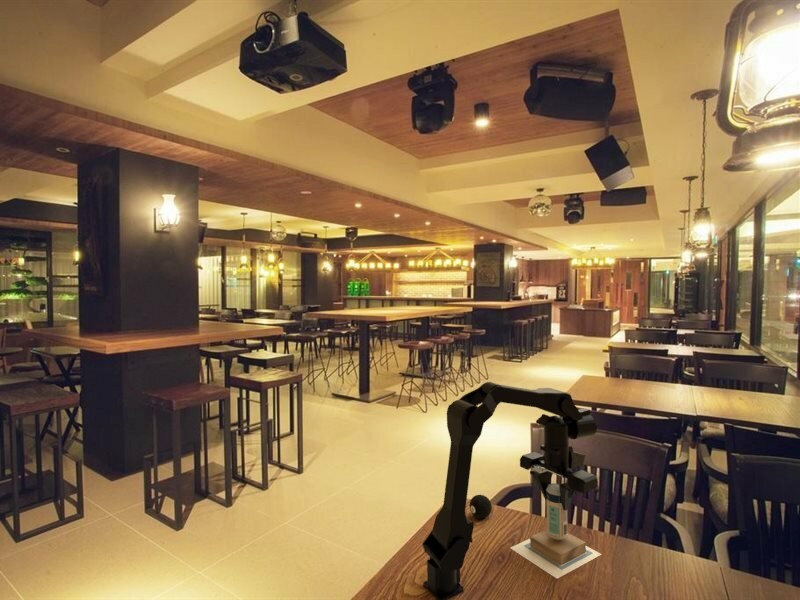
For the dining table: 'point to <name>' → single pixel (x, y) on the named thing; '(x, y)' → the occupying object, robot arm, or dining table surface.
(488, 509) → the billiard ball
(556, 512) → the beer can
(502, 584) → the dining table surface
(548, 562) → the white flat square slab
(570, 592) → the dining table surface
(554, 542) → the base block
